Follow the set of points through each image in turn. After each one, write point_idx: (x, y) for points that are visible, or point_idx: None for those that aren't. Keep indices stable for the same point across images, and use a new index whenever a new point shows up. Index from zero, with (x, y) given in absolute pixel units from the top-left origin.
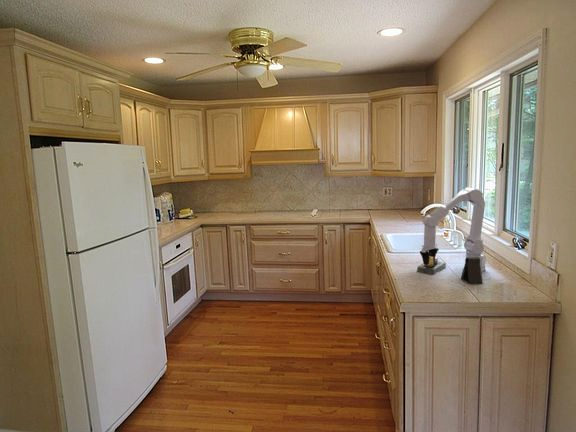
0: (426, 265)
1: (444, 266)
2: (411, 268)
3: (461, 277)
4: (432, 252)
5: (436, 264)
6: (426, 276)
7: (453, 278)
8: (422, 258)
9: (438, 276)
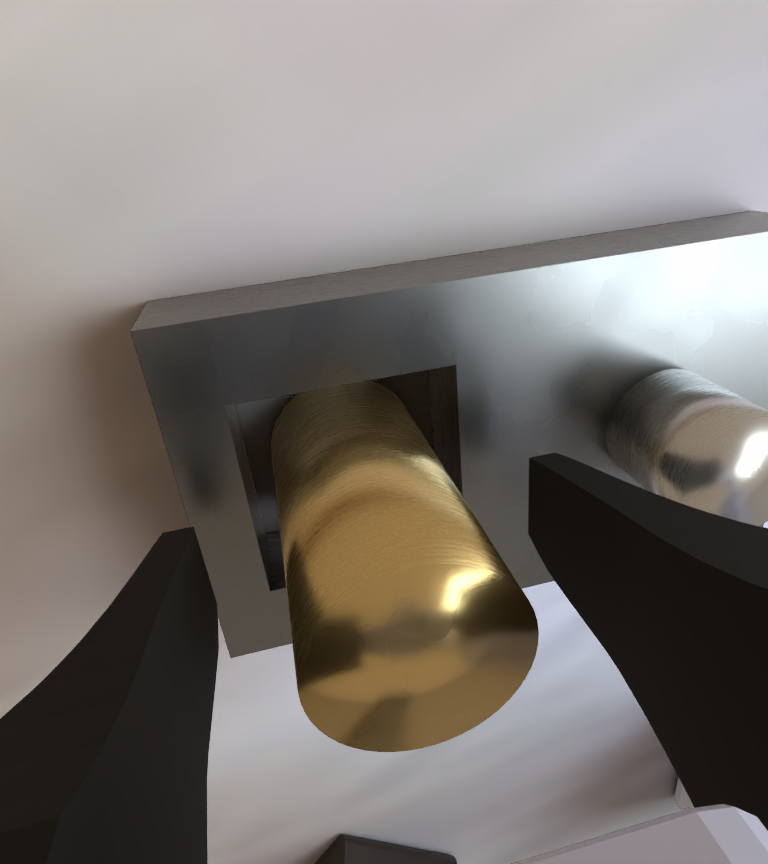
0: (279, 502)
1: None
2: (210, 66)
3: (340, 857)
4: (683, 684)
5: None
6: (15, 600)
7: (281, 801)
8: (78, 644)
9: None
